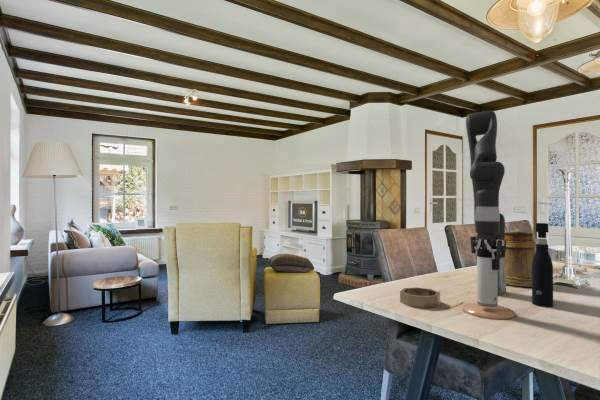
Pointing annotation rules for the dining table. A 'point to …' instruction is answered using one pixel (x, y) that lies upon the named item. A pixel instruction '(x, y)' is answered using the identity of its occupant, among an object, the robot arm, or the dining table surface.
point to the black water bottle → (542, 270)
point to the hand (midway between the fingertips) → (487, 268)
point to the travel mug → (486, 280)
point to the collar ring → (420, 297)
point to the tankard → (519, 257)
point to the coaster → (488, 311)
